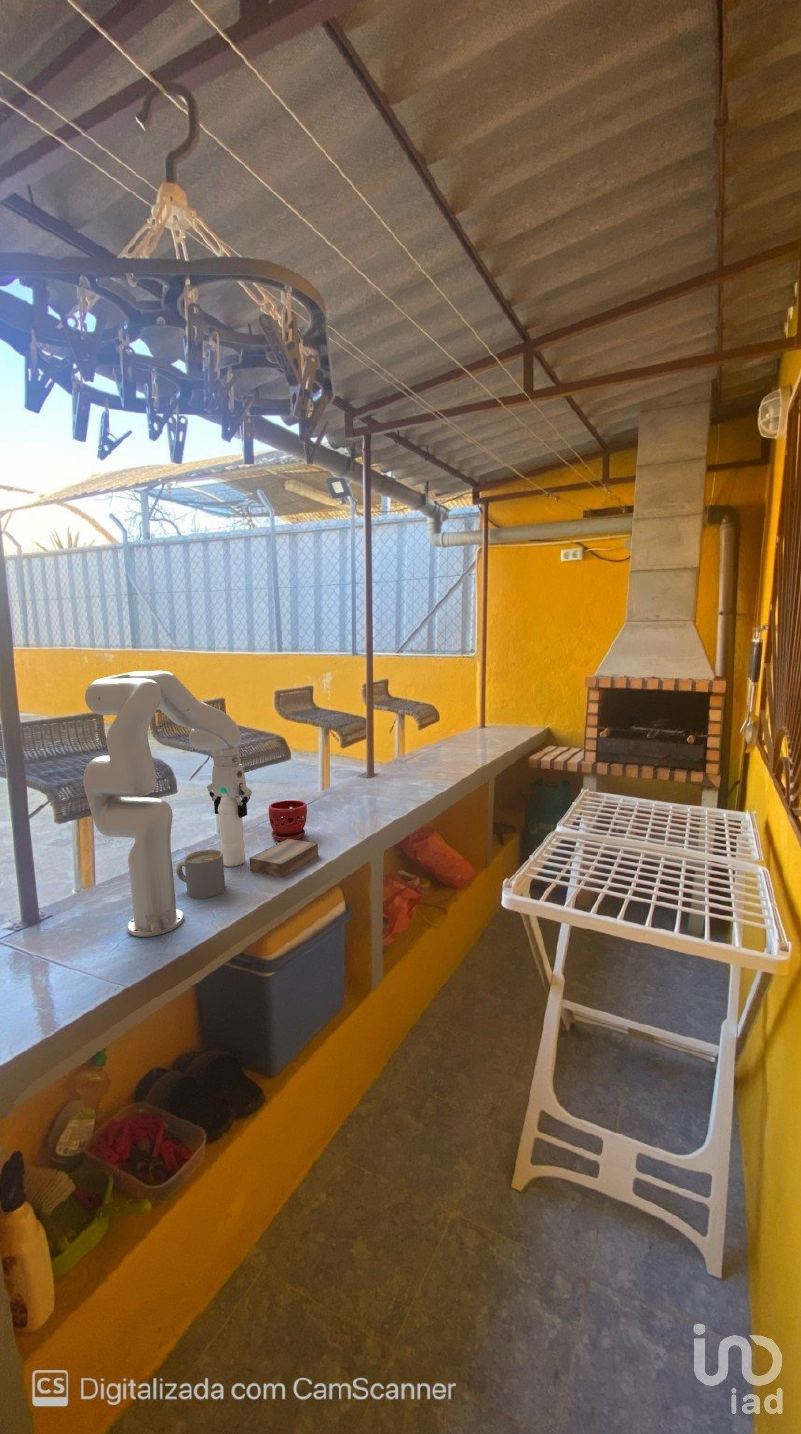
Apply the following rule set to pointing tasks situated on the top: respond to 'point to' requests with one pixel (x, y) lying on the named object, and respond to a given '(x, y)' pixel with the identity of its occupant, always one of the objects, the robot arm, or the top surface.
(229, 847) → the water bottle
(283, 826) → the plant pot
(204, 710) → the robot arm
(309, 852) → the walnut stand
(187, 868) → the coffee mug
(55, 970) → the top surface
